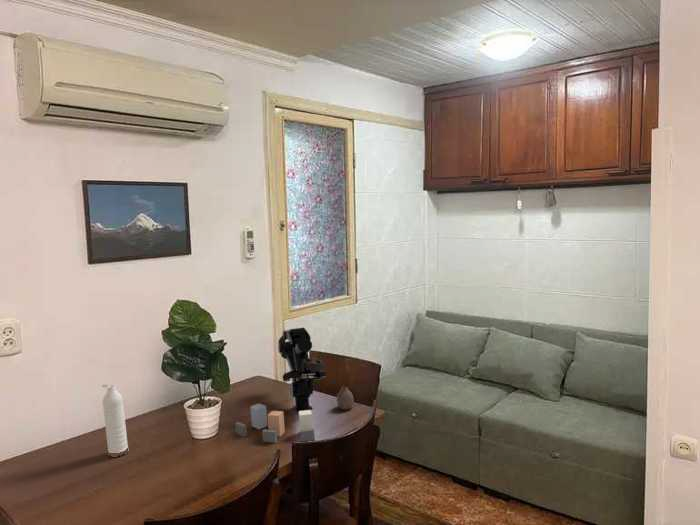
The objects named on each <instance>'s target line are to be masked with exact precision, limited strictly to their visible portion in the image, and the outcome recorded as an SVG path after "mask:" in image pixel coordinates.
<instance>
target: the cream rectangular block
mask: <svg viewBox="0 0 700 525" xmlns="http://www.w3.org/2000/svg"><path fill="white" fill-rule="evenodd" d="M312 415H313V414H312V409H310V410H305V411H299V412H298V418H299V431H300V430H305V429H313V428H314V427H313V416H312Z"/></svg>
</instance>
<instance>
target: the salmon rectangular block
mask: <svg viewBox="0 0 700 525" xmlns="http://www.w3.org/2000/svg"><path fill="white" fill-rule="evenodd" d="M267 427H268V430H277V438H279V437H282V436H283V435H284V433H285V432H286V430H285V416H284V410H283V411H281V410H279V411H278V410H272V411H270V412H269V413H267Z"/></svg>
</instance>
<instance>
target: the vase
mask: <svg viewBox="0 0 700 525" xmlns="http://www.w3.org/2000/svg"><path fill="white" fill-rule="evenodd" d="M336 403H337V407H339V409H340V410H343V411H347V410H350V409H352V407H353V405H354V395H353V393H352V392H351V390H350V389H349V388H348V386H342V387H341V388H340V390H339V392H338V393H337V396H336Z"/></svg>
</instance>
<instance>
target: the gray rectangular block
mask: <svg viewBox="0 0 700 525" xmlns="http://www.w3.org/2000/svg"><path fill="white" fill-rule="evenodd" d="M250 418H251V427H252V428H255V429H257V430H262V429H265V428H266V427H268V413H267V406H266V405H265V404H261V403H256V404H253V405H251V406H250Z"/></svg>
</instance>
